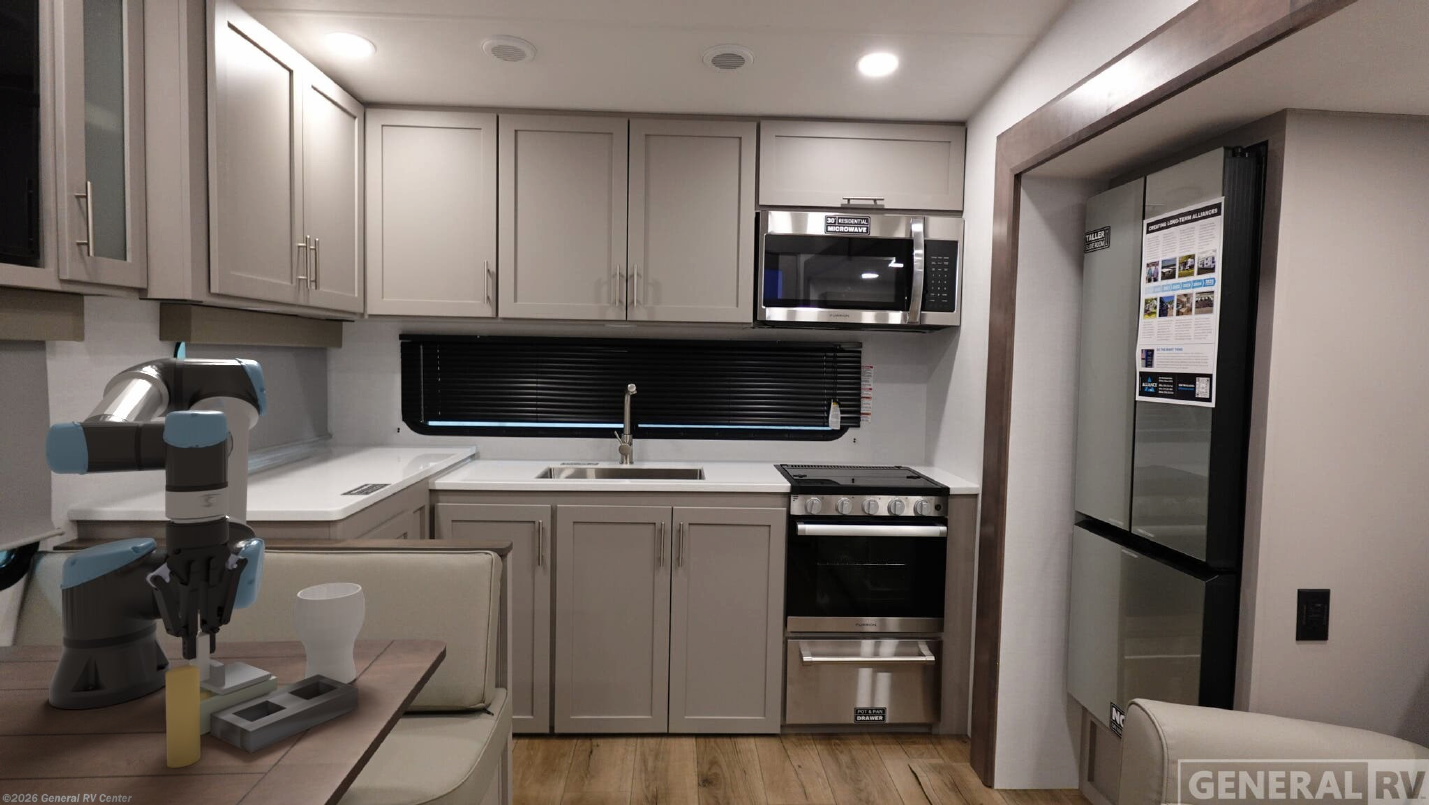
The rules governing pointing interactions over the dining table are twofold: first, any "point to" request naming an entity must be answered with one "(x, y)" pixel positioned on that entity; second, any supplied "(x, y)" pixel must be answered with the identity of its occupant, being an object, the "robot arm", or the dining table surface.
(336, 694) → the peg board
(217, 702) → the pale green box tray
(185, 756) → the peg
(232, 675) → the lid
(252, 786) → the dining table surface
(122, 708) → the dining table surface
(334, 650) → the cup
